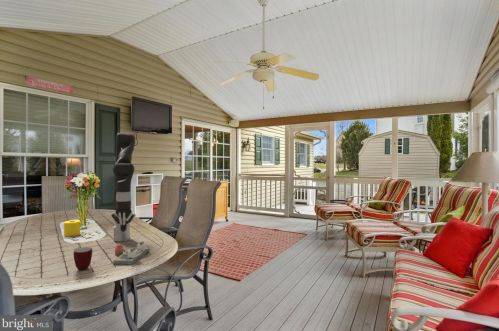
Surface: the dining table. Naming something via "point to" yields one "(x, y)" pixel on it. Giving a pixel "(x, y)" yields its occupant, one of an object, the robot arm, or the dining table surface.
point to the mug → (82, 258)
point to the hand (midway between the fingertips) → (123, 231)
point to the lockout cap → (118, 249)
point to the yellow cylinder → (72, 228)
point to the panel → (125, 260)
